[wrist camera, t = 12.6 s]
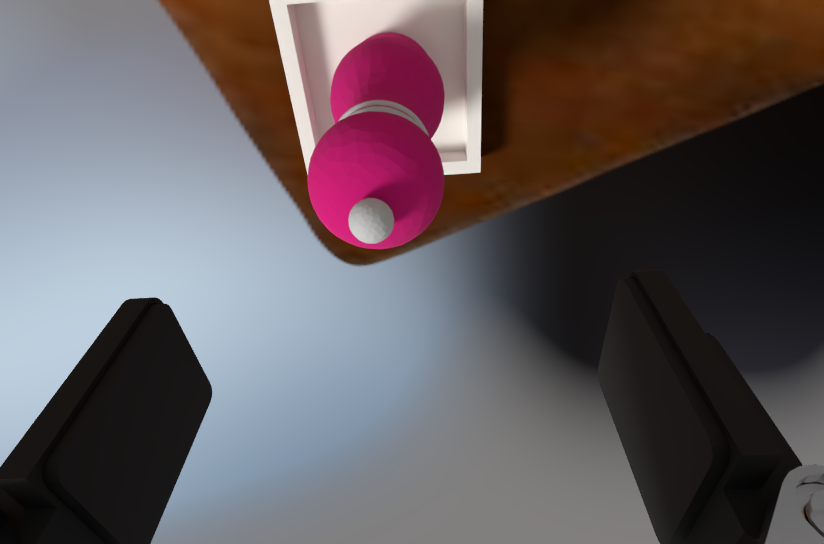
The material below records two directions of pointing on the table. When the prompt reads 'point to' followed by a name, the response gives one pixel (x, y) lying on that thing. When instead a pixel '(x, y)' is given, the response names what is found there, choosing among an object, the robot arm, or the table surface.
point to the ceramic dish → (373, 14)
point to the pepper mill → (380, 145)
